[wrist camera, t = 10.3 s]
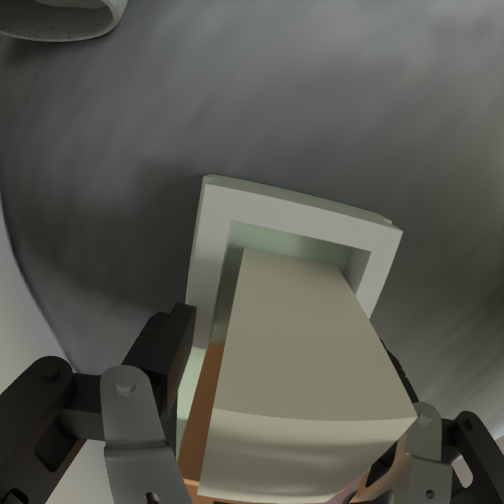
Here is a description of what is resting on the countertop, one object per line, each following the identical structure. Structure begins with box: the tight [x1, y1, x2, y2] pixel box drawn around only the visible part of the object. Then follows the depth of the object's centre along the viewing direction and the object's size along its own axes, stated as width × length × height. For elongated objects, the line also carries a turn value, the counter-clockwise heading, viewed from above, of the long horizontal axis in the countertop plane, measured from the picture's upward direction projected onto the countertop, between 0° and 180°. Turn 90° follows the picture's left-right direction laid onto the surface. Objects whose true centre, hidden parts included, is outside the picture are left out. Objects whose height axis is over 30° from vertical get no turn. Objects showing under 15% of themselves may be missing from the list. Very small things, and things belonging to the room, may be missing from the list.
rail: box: [176, 174, 403, 504], centre depth 11 cm, size 8×23×10 cm, turn 168°
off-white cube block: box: [177, 247, 418, 504], centre depth 9 cm, size 6×6×8 cm
